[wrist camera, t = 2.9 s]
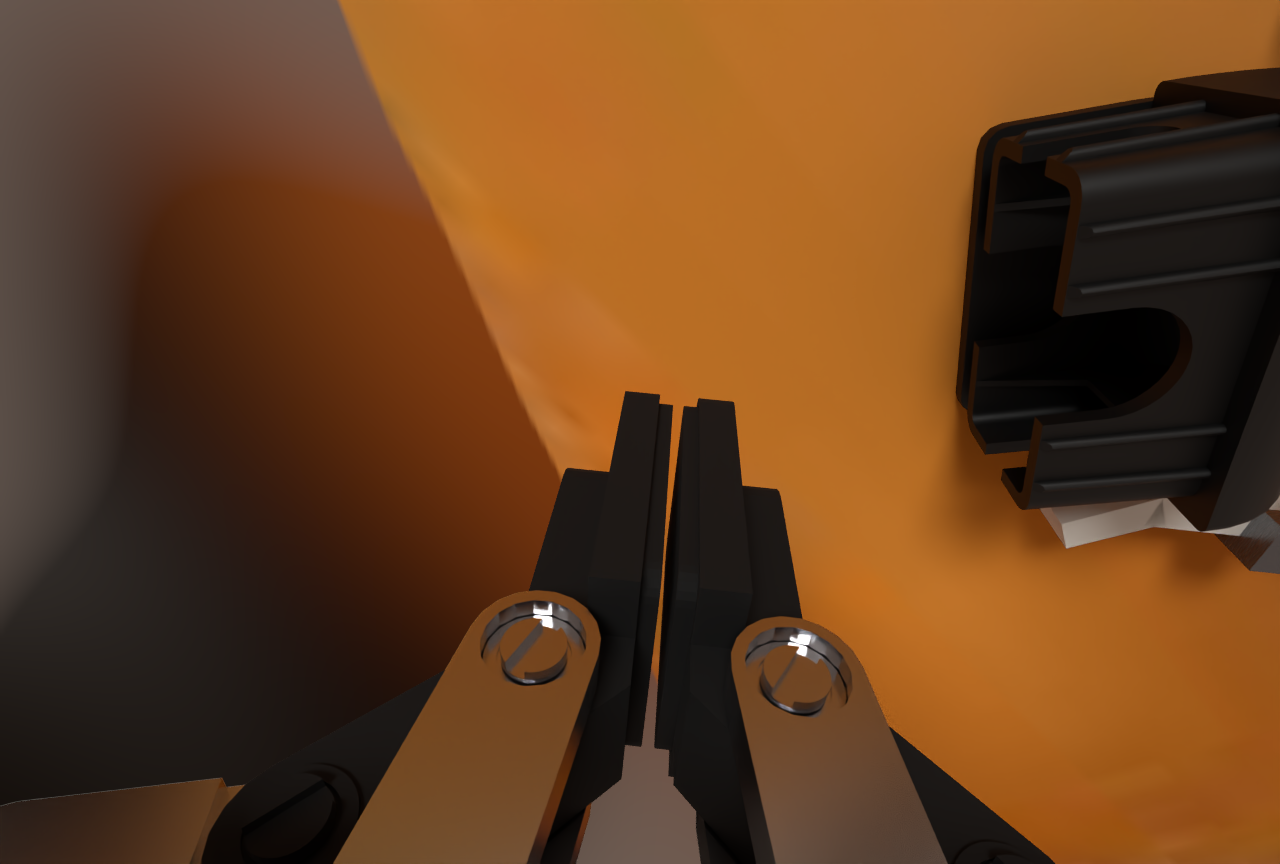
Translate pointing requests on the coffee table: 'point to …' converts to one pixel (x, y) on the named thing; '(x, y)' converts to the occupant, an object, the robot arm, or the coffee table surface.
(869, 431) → the coffee table surface
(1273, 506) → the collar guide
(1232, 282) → the end cap
